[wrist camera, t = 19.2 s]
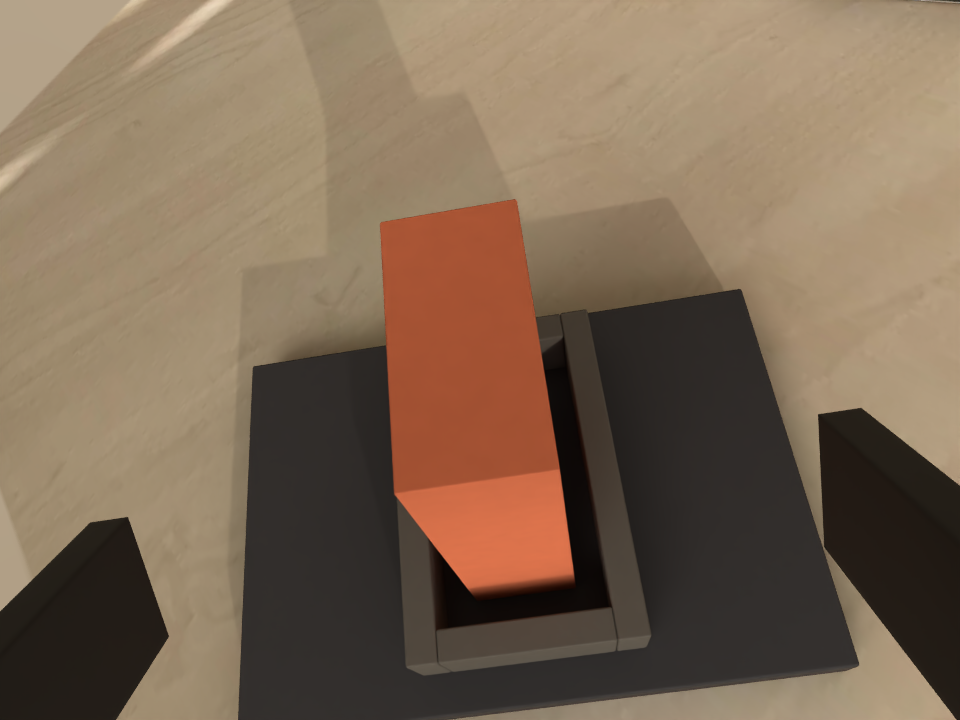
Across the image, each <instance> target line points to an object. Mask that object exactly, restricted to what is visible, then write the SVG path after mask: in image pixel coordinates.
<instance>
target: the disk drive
mask: <svg viewBox="0 0 960 720" xmlns="http://www.w3.org/2000/svg"><path fill="white" fill-rule="evenodd" d="M914 1H932V2H945V3H960V0H914Z"/></svg>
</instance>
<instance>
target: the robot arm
mask: <svg viewBox="0 0 960 720" xmlns="http://www.w3.org/2000/svg"><path fill="white" fill-rule="evenodd" d="M818 422H819V443H820V465H821V486H822V508H823V529H824V547H825V549H826V550H827V551H828V553H829V554H830V555H831V556H832V558H833V559H834V560H835V562H836V563H837V564H838V566H839V567H840V568H841V569H842V571H843V572H844V573H845V575H846V576H847V577H848V579H849V580H850V581H851V583H852V584H853V585H854V586H855V588H856V589H857V590H858V592H859V593H860V594H861V596H862V597H863V598H864V599H865V601H866V602H867V603H868V605H869V606H870V607H871V609H872V610H873V611H874V613H875V614H876V615H877V616H878V618H879V619H880V620H881V622H882V623H883V624H884V626H885V627H886V628H887V629H888V631H889V632H890V633H891V635H892V636H893V637H894V639H895V640H896V641H897V643H898V644H899V645H900V646H901V648H902V649H903V650H904V652H905V653H906V654H907V656H908V657H909V658H910V659H911V661H912V662H913V663H914V665H915V666H916V667H917V669H918V670H919V671H920V673H921V674H922V675H923V676H924V678H925V679H926V680H927V682H928V683H929V684H930V686H931V687H932V688H933V689H934V691H935V692H936V693H937V695H938V696H939V697H940V699H941V700H942V701H943V703H944V704H945V705H946V706H947V708H948V709H949V710H950V712H951V713H952V714H953V716H954V717H955V718H956V719H957V720H960V485H958V484H957V483H956V482H954V481H953V480H952V479H951V478H949V477H948V476H947V475H946V474H944V473H943V472H942V471H941V470H939V469H938V468H937V467H935V466H934V465H933V464H932V463H930V462H929V461H928V460H927V459H925V458H924V457H923V456H921V455H920V454H919V453H918V452H916V451H915V450H914V449H913V448H911V447H910V446H909V445H908V444H906V443H905V442H904V441H902V440H901V439H900V438H899V437H897V436H896V435H895V434H894V433H892V432H891V431H890V430H889V429H887V428H886V427H885V426H883V425H882V424H881V423H880V422H878V421H877V420H876V419H875V418H873V417H872V416H871V415H870V414H868V413H867V412H866V411H864V410H863V409H862V408H858V409H851V410H845V411H838V412H831V413H824V414H818ZM168 637H169V635H168V632H167V629H166V627H165V624H164V621H163V618H162V615H161V612H160V609H159V606H158V603H157V600H156V597H155V594H154V592H153V589H152V586H151V583H150V580H149V577H148V574H147V571H146V568H145V565H144V562H143V560H142V557H141V554H140V551H139V548H138V545H137V542H136V539H135V536H134V533H133V530H132V527H131V525H130V522H129V519H128V517H125V518H118V519H112V520H105V521H98V522H91V523H90V524H88V525H87V526H86V527H85V528H84V529H83V530H82V531H81V532H80V533H79V534H78V535H77V536H76V537H75V538H74V539H73V540H72V541H71V542H70V543H69V544H68V545H67V546H66V547H65V548H64V549H63V550H62V551H61V552H60V553H59V554H58V555H57V556H56V557H55V558H54V559H53V560H52V561H51V562H50V563H49V564H48V565H47V566H46V567H45V568H44V569H43V570H42V571H41V572H40V573H39V574H38V575H37V576H36V577H35V578H34V579H33V580H32V581H31V582H30V583H29V584H28V585H27V586H26V587H25V588H24V589H23V590H22V591H21V592H20V593H19V594H18V595H17V596H15V598H13V599H12V600H11V601H10V602H9V603H8V604H7V605H6V606H5V607H4V608H3V609H2V610H1V611H0V720H116V719H117V717H118V716H119V714H120V713H121V711H122V709H123V708H124V706H125V705H126V703H127V702H128V700H129V698H130V697H131V695H132V694H133V692H134V691H135V689H136V687H137V686H138V684H139V683H140V681H141V680H142V678H143V676H144V675H145V673H146V672H147V670H148V669H149V667H150V666H151V664H152V662H153V661H154V659H155V658H156V656H157V655H158V653H159V651H160V650H161V648H162V647H163V645H164V644H165V642H166V640H167V639H168Z"/></svg>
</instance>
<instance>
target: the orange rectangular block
mask: <svg viewBox="0 0 960 720" xmlns="http://www.w3.org/2000/svg"><path fill="white" fill-rule="evenodd" d="M380 232H381V251H382V270H383V290H384V309H385V328H386V347H387V367H388V386H389V405H390V424H391V444H392V463H393V482H394V494H395V496H396V497H397V498H398V499H399V501H400V502H401V503H402V505H403V506H404V507H405V508H406V510H407V511H408V512H409V514H410V515H411V516H412V518H413V519H414V520H415V521H416V523H417V524H418V525H419V527H420V528H421V529H422V530H423V532H424V533H425V534H426V536H427V537H428V538H429V539H430V541H431V542H432V543H433V545H434V546H435V547H436V549H437V550H438V551H439V552H440V554H441V555H442V556H443V558H444V559H445V560H446V561H447V563H448V564H449V565H450V567H451V568H452V569H453V570H454V572H455V573H456V574H457V576H458V577H459V578H460V580H461V581H462V582H463V583H464V585H465V586H466V587H467V589H468V590H469V591H470V592H471V594H472V595H473V596H474V598H475V599H476V600H477V601H481V600H489V599H496V598H504V597H511V596H519V595H526V594H534V593H541V592H549V591H556V590H564V589H571V588H575V587H576V584H575V577H574V570H573V562H572V555H571V548H570V540H569V533H568V525H567V518H566V511H565V503H564V496H563V489H562V481H561V474H560V467H559V461H558V454H557V448H556V442H555V436H554V430H553V423H552V417H551V411H550V405H549V398H548V392H547V386H546V380H545V373H544V367H543V361H542V355H541V349H540V342H539V336H538V330H537V324H536V317H535V311H534V305H533V299H532V293H531V286H530V280H529V274H528V268H527V261H526V255H525V249H524V243H523V236H522V230H521V224H520V218H519V212H518V205H517V201H516V200H515V199H514V200H508V201H502V202H496V203H490V204H484V205H479V206H473V207H467V208H461V209H455V210H450V211H444V212H438V213H432V214H426V215H420V216H415V217H409V218H403V219H397V220H391V221H385V222H381V223H380Z"/></svg>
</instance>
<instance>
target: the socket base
mask: <svg viewBox="0 0 960 720" xmlns="http://www.w3.org/2000/svg"><path fill="white" fill-rule="evenodd" d="M536 324H537V330H538V336H539V342H540V349H541V355H542V361H543V367H544V373H545V380H546V386H547V392H548V398H549V405H550V411H551V417H552V423H553V430H554V436H555V442H556V448H557V454H558V461H559V467H560V474H561V481H562V489H563V496H564V503H565V511H566V518H567V525H568V533H569V540H570V548H571V555H572V562H573V570H574V577H575V584H576V587H575V588H571V589H564V590H556V591H549V592H541V593H534V594H526V595H519V596H511V597H504V598H496V599H489V600H481V601H477V600H476V599H475V598H474V596H473V595H472V594H471V592H470V591H469V590H468V589H467V587H466V586H465V585H464V583H463V582H462V581H461V580H460V578H459V577H458V576H457V574H456V573H455V572H454V570H453V569H452V568H451V567H450V565H449V564H448V563H447V561H446V560H445V559H444V558H443V556H442V555H441V554H440V552H439V551H438V550H437V549H436V547H435V546H434V545H433V543H432V542H431V541H430V539H429V538H428V537H427V536H426V534H425V533H424V532H423V530H422V529H421V528H420V527H419V525H418V524H417V523H416V521H415V520H414V519H413V518H412V516H411V515H410V514H409V512H408V511H407V510H406V508H405V507H404V506H403V505H402V503H401V502H400V501H399V499H398V498H397V497H396V496H395V494H394V482H393V463H392V444H391V424H390V405H389V386H388V367H387V347H386V346H379V347H373V348H367V349H361V350H354V351H348V352H342V353H336V354H329V355H323V356H317V357H310V358H304V359H298V360H292V361H285V362H279V363H273V364H266V365H260V366H254V367H253V377H252V401H251V425H250V449H249V473H248V497H247V521H246V545H245V568H244V592H243V616H242V640H241V664H240V688H239V712H238V720H449V719H457V718H465V717H473V716H481V715H489V714H498V713H506V712H514V711H522V710H530V709H539V708H547V707H555V706H563V705H571V704H579V703H588V702H596V701H604V700H612V699H620V698H628V697H637V696H645V695H653V694H661V693H669V692H678V691H686V690H694V689H702V688H710V687H718V686H727V685H735V684H743V683H751V682H759V681H767V680H776V679H784V678H792V677H800V676H808V675H817V674H825V673H833V672H841V671H846V670H849V669H852V668H855V667H857V666H859V662H858V658H857V655H856V652H855V649H854V646H853V643H852V639H851V636H850V633H849V630H848V627H847V623H846V620H845V617H844V614H843V611H842V608H841V604H840V601H839V598H838V595H837V592H836V589H835V585H834V582H833V579H832V576H831V573H830V570H829V566H828V563H827V560H826V557H825V554H824V550H823V547H822V544H821V541H820V538H819V535H818V531H817V528H816V525H815V522H814V519H813V516H812V512H811V509H810V506H809V503H808V500H807V497H806V493H805V490H804V487H803V484H802V481H801V478H800V474H799V471H798V468H797V465H796V462H795V458H794V455H793V452H792V449H791V446H790V443H789V439H788V436H787V433H786V430H785V427H784V424H783V420H782V417H781V414H780V411H779V408H778V405H777V401H776V398H775V395H774V392H773V389H772V385H771V382H770V379H769V376H768V373H767V370H766V366H765V363H764V360H763V357H762V354H761V351H760V347H759V344H758V341H757V338H756V335H755V332H754V328H753V325H752V322H751V319H750V316H749V313H748V309H747V306H746V303H745V300H744V297H743V293H742V291H741V289H737V290H731V291H725V292H718V293H712V294H706V295H699V296H693V297H687V298H681V299H674V300H668V301H662V302H655V303H649V304H643V305H637V306H630V307H624V308H618V309H612V310H605V311H599V312H593V313H588V312H587V310H579V311H573V312H567V313H561V314H560V315H559V314H555V315H549V316H542V317H536Z"/></svg>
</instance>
